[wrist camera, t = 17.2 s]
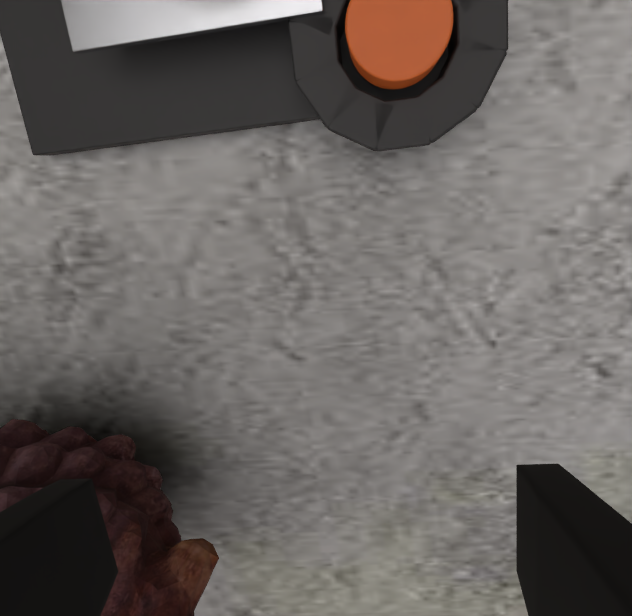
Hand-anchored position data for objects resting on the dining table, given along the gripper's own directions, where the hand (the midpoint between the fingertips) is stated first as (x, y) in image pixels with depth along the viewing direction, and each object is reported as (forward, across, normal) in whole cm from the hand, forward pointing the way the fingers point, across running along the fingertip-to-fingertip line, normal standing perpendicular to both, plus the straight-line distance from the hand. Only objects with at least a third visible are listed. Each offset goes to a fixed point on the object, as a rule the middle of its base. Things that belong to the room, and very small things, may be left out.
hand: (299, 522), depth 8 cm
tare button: (+7, -3, -8) cm, 11 cm away
